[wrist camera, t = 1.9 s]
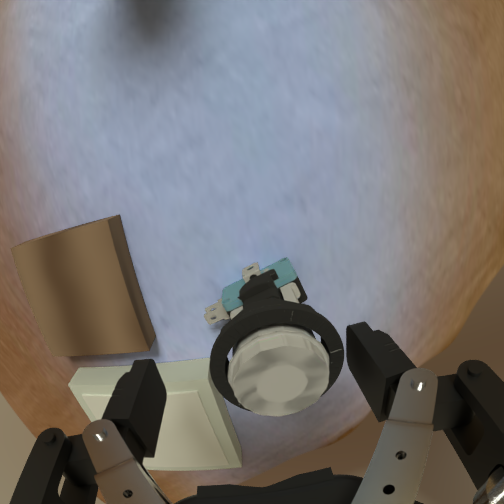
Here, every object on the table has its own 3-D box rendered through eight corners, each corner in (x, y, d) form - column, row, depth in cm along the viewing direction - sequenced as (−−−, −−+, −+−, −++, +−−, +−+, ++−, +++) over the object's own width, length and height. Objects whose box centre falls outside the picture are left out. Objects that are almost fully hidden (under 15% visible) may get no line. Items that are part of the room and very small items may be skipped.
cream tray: (210, 357, 21) (207, 380, 18) (241, 447, 24) (242, 468, 22) (79, 367, 21) (67, 386, 18) (132, 451, 24) (126, 469, 22)
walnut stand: (119, 214, 18) (107, 219, 16) (155, 335, 20) (149, 350, 18) (25, 241, 18) (10, 248, 16) (63, 343, 20) (52, 356, 18)
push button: (226, 337, 21) (223, 450, 11) (187, 276, 19) (149, 372, 10) (312, 297, 20) (365, 395, 10) (279, 229, 19) (324, 295, 9)
